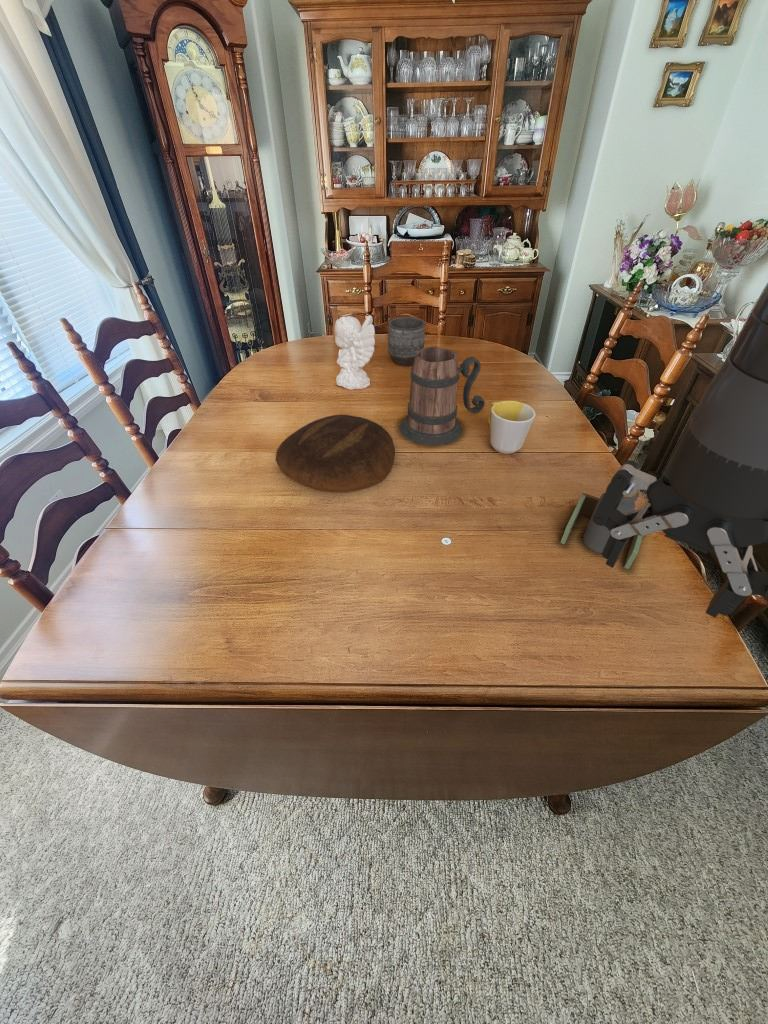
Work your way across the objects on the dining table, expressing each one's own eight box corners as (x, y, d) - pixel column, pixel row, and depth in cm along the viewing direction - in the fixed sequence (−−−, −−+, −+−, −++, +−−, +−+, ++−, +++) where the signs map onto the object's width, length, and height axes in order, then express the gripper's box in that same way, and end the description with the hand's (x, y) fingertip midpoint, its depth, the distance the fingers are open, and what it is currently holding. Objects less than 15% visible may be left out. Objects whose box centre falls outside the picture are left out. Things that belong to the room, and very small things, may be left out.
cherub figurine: (336, 372, 141) (331, 308, 128) (374, 371, 142) (372, 307, 128) (335, 391, 131) (329, 323, 118) (376, 389, 132) (374, 322, 118)
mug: (532, 457, 104) (543, 419, 97) (492, 461, 103) (499, 423, 96) (512, 428, 114) (520, 392, 107) (475, 431, 113) (481, 395, 106)
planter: (430, 360, 148) (432, 321, 139) (408, 371, 141) (409, 332, 133) (403, 351, 154) (404, 314, 145) (380, 361, 147) (380, 323, 139)
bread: (417, 452, 106) (418, 421, 100) (351, 514, 89) (349, 481, 84) (328, 420, 118) (324, 391, 112) (255, 470, 101) (247, 438, 95)
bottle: (619, 554, 81) (652, 492, 71) (588, 553, 81) (616, 492, 71) (608, 532, 85) (637, 471, 75) (578, 531, 85) (603, 471, 75)
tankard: (414, 450, 107) (417, 374, 93) (390, 418, 119) (390, 346, 105) (496, 433, 113) (510, 358, 99) (466, 404, 124) (475, 334, 111)
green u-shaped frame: (639, 531, 85) (649, 514, 82) (628, 569, 78) (638, 553, 75) (576, 508, 90) (582, 492, 87) (560, 543, 83) (566, 526, 80)
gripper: (905, 445, 26) (760, 599, 38) (659, 381, 34) (598, 526, 45) (901, 509, 23) (740, 660, 34) (623, 421, 30) (566, 569, 41)
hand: (659, 583), depth 39 cm, fingers open, 8 cm apart
